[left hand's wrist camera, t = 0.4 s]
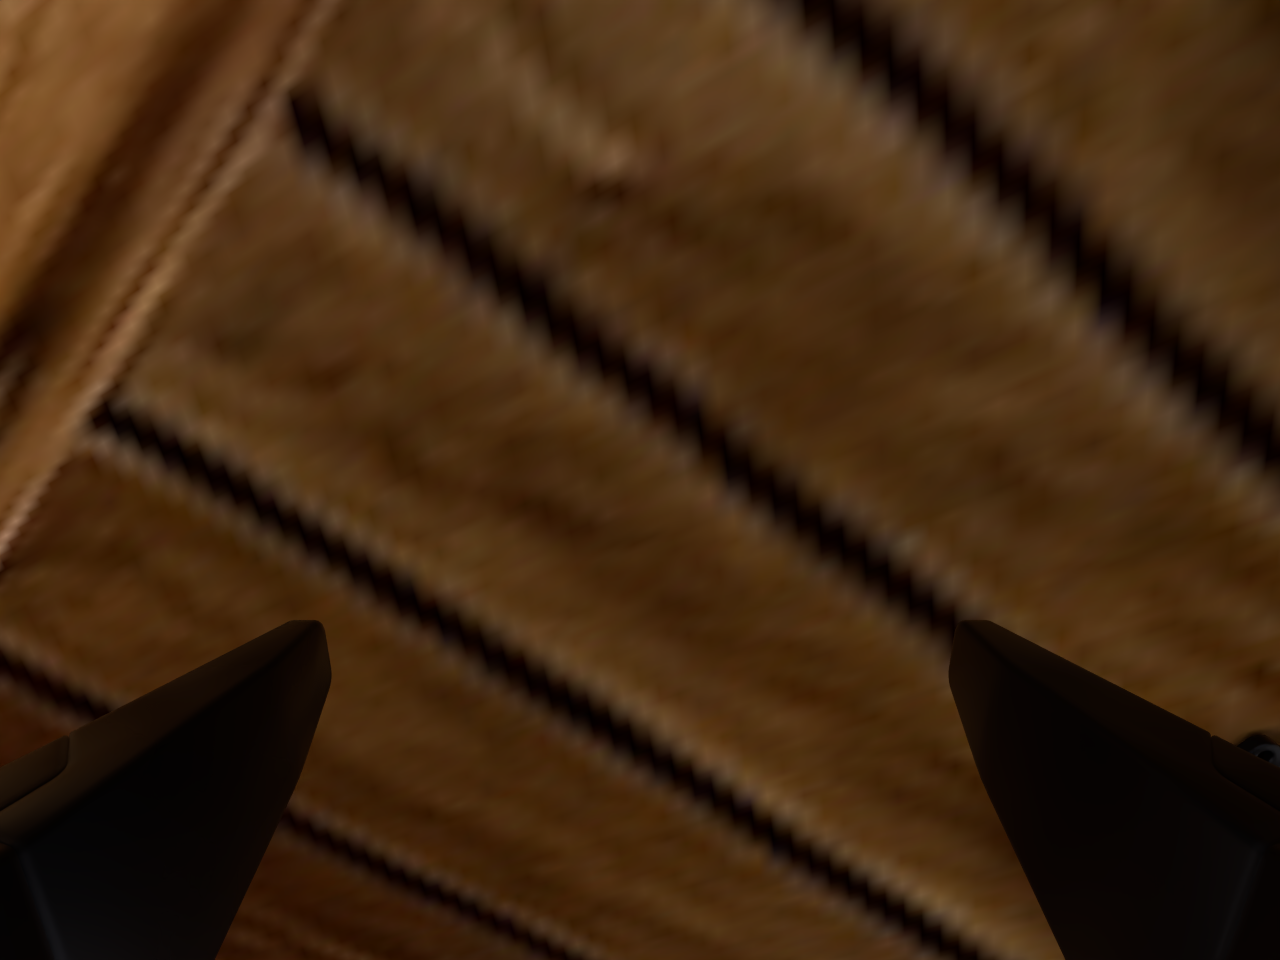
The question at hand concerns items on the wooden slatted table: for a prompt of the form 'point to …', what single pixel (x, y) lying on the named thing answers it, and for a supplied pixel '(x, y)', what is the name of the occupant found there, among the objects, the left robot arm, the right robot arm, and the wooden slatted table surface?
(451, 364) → the wooden slatted table surface
